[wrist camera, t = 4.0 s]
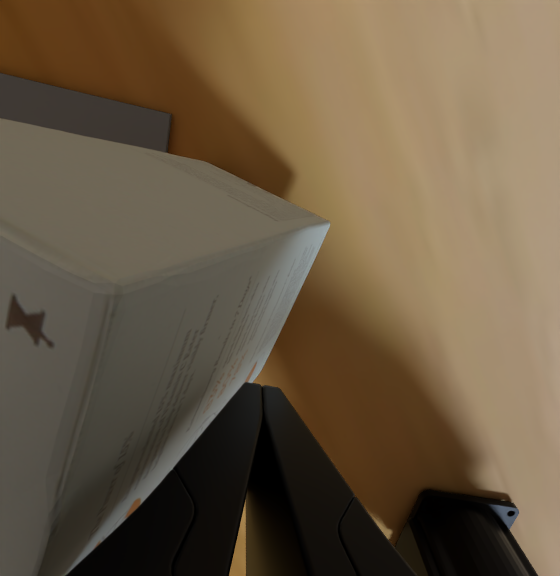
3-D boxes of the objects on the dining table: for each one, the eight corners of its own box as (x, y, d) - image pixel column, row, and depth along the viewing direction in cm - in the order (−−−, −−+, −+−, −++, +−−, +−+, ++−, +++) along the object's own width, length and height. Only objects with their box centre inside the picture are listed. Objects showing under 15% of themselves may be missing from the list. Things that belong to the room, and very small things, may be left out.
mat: (171, 114, 16) (169, 113, 15) (144, 357, 20) (142, 360, 19) (-193, 26, 14) (-202, 24, 14) (-143, 306, 18) (-149, 308, 18)
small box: (205, 159, 16) (-326, 31, 4) (334, 221, 15) (128, 285, 3) (152, 314, 19) (-276, 512, 7) (260, 375, 18) (-12, 738, 6)
